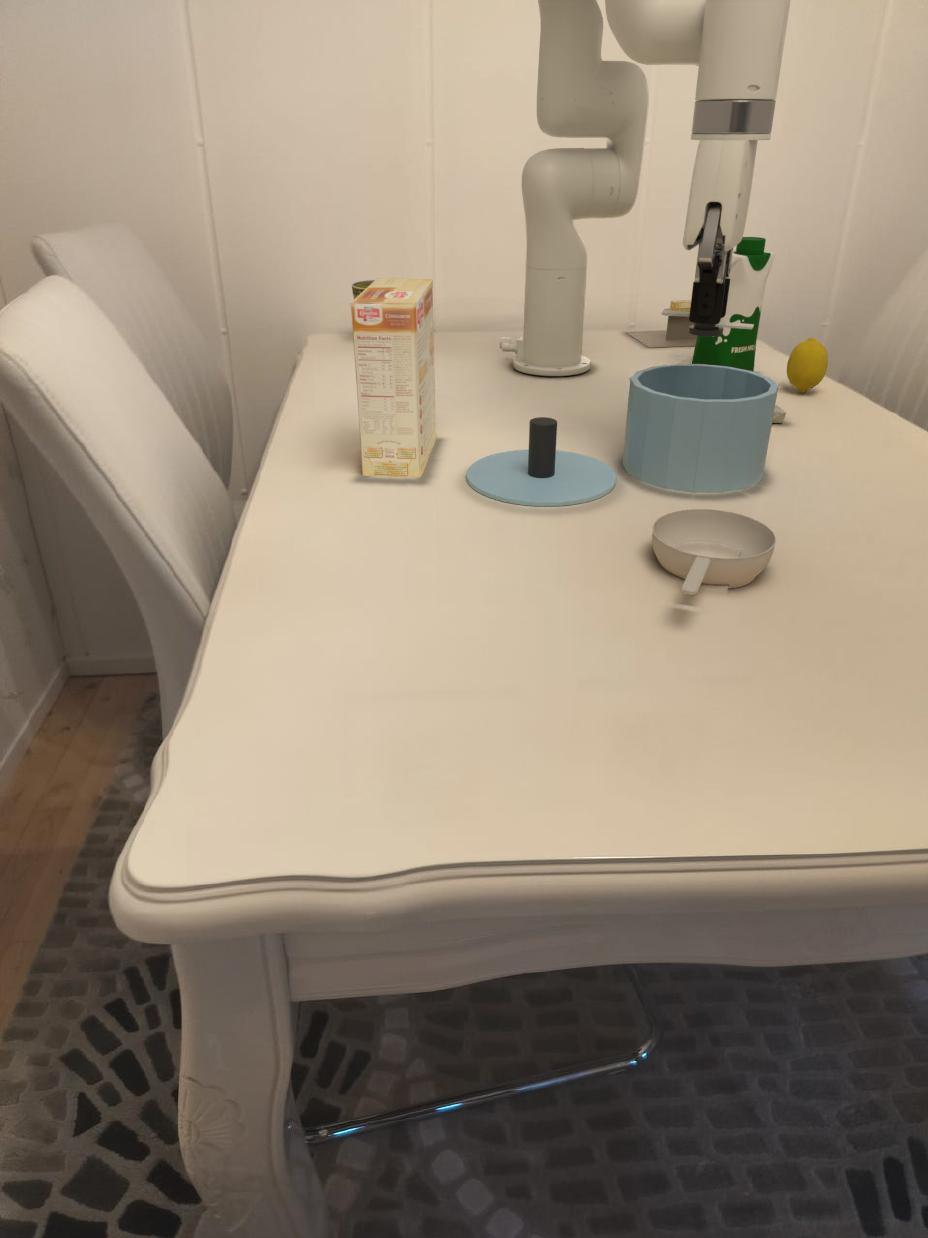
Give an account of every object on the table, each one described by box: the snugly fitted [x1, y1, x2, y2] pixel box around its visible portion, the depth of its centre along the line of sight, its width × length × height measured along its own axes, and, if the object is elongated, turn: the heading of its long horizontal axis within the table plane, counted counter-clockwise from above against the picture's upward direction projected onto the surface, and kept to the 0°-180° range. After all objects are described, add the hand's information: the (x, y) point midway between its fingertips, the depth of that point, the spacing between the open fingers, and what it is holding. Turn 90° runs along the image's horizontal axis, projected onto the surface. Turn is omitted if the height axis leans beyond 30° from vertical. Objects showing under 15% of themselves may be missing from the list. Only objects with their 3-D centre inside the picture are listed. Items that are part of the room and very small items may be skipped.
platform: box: [627, 299, 697, 348], centre depth 162 cm, size 12×18×7 cm, turn 99°
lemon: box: [786, 337, 829, 394], centre depth 130 cm, size 6×6×8 cm
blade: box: [661, 264, 754, 336], centre depth 94 cm, size 10×4×7 cm, turn 67°
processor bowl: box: [622, 363, 780, 494], centre depth 100 cm, size 16×16×10 cm
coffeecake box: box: [349, 277, 437, 479], centre depth 102 cm, size 15×7×20 cm, turn 174°
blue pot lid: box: [466, 416, 617, 507], centre depth 98 cm, size 17×17×7 cm
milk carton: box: [690, 236, 776, 372], centre depth 137 cm, size 9×9×20 cm
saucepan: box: [651, 508, 777, 596], centre depth 77 cm, size 11×18×4 cm, turn 157°
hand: (707, 318), depth 95 cm, fingers closed on blade, 2 cm apart
